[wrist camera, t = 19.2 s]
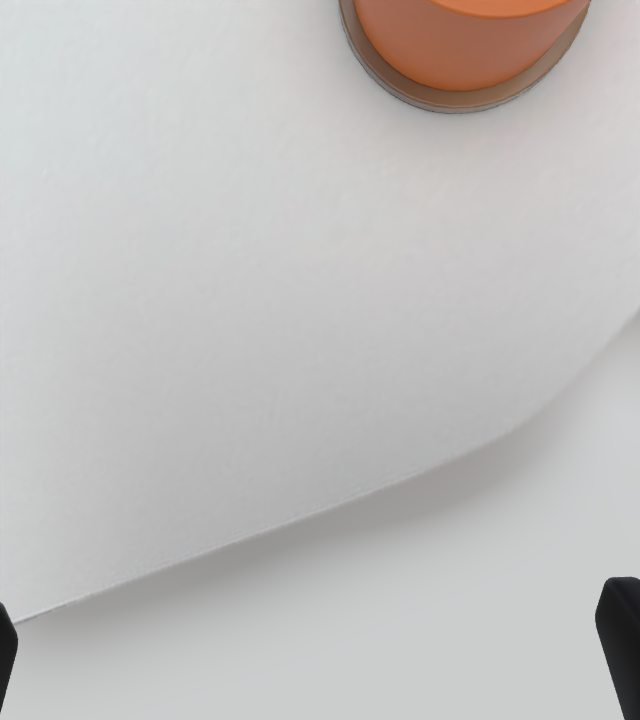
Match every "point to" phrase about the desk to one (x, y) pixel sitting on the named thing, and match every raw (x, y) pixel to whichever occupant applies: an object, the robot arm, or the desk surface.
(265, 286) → the desk surface
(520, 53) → the cap
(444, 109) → the coaster
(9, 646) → the robot arm
